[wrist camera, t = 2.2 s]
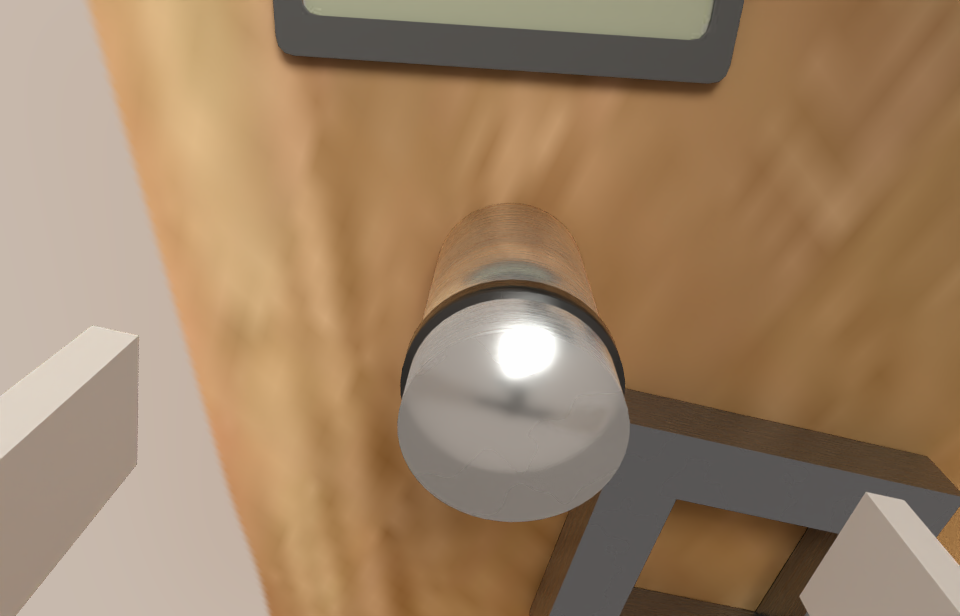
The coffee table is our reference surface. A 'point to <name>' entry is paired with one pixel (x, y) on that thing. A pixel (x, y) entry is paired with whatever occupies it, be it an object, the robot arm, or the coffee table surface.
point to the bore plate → (723, 504)
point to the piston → (512, 373)
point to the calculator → (522, 34)
